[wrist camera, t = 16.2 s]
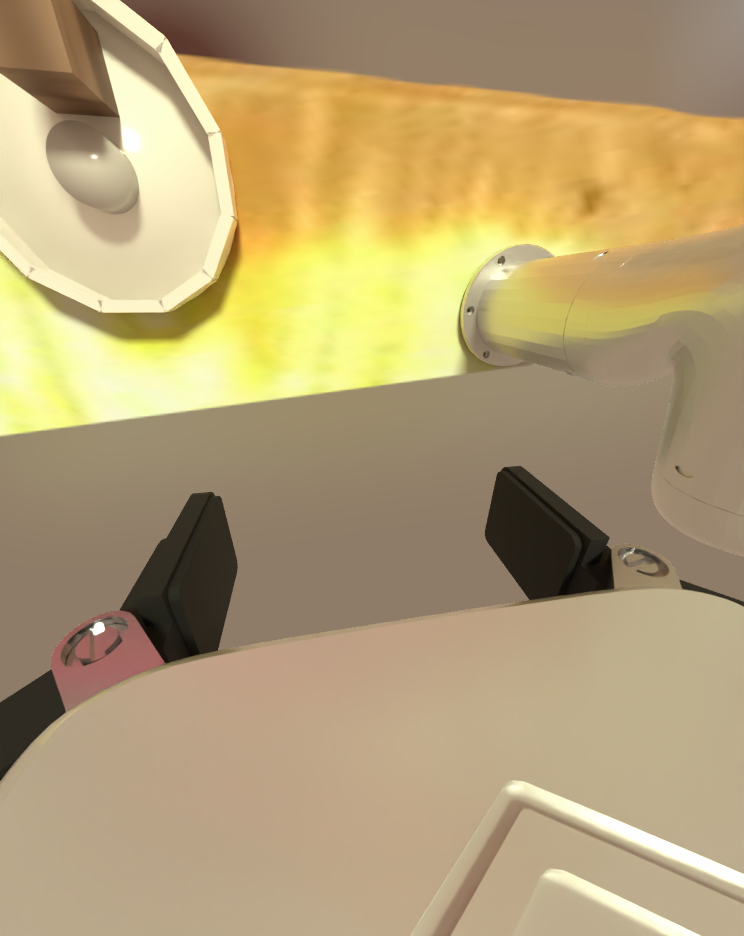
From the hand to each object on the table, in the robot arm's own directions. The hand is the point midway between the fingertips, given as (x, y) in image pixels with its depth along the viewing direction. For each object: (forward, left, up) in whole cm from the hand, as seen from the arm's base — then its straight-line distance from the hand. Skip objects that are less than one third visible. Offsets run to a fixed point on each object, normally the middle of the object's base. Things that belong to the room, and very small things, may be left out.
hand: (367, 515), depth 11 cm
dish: (+17, -15, -30) cm, 38 cm away
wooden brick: (+17, -21, -29) cm, 40 cm away
